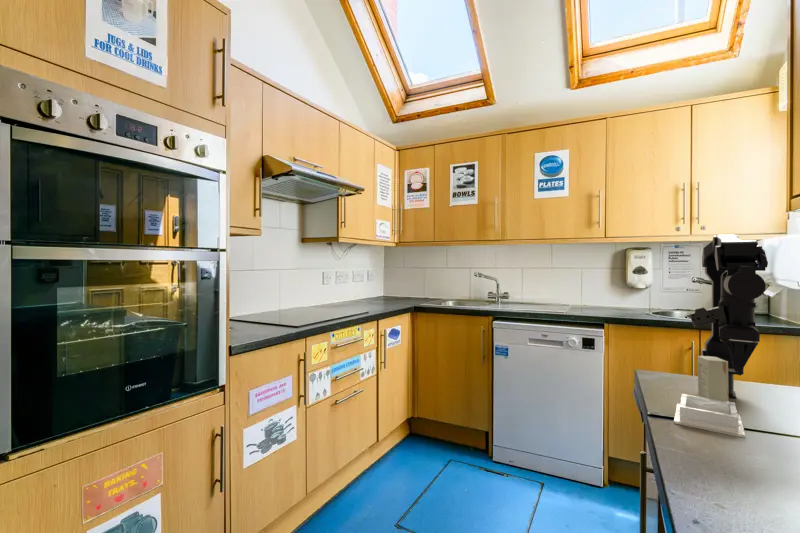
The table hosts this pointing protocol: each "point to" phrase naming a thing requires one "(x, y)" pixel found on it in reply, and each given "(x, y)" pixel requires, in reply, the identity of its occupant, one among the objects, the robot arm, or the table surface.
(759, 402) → the table surface
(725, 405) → the square open tray
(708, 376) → the skincare box
